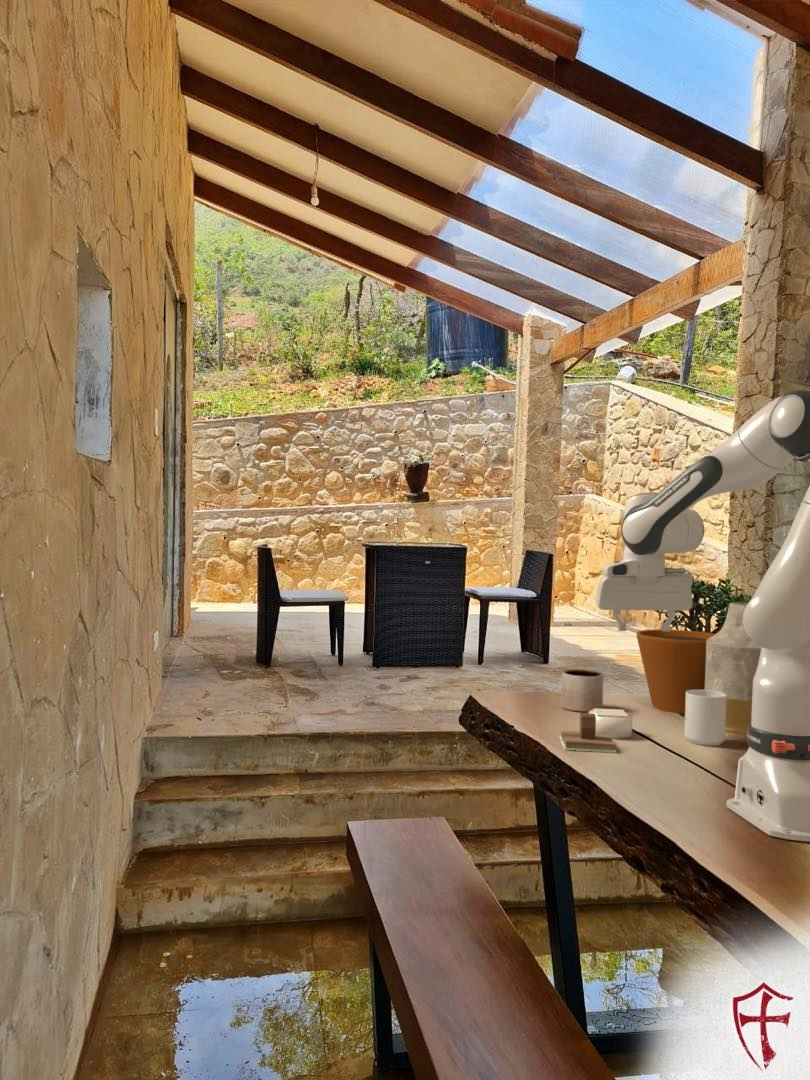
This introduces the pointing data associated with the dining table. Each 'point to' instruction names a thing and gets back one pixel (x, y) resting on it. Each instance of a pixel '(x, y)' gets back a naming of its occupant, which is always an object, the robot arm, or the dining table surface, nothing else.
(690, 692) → the mug
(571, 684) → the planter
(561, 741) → the mat
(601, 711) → the disc with square top
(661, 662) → the flower pot
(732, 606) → the vase
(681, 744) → the dining table surface
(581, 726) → the lid
